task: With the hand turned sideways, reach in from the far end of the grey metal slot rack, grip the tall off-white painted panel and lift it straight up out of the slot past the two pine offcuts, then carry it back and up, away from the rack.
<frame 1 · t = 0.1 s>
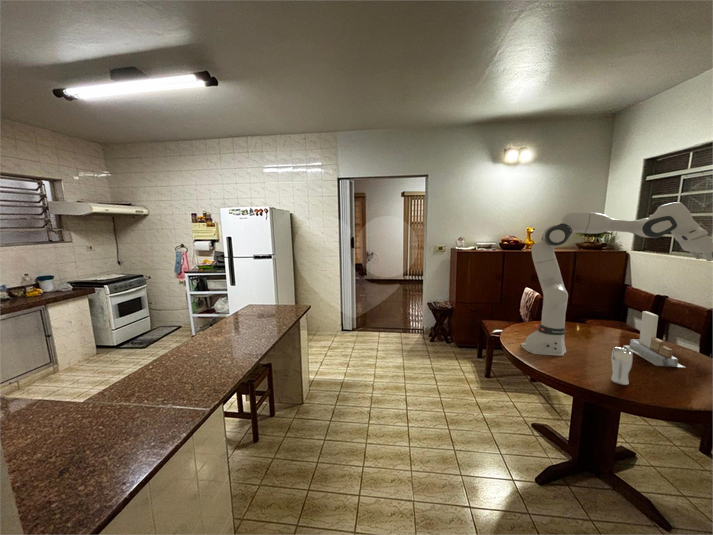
hand: (705, 259, 131), 54 cm above the table, tool tilted 30°, fingers open, 8 cm apart
slot rack: (651, 358, 152), on the table
short offcut: (664, 362, 143), point 1 cm above the table, touching slot rack
tall panel: (645, 352, 155), point 1 cm above the table, touching slot rack
beer glass: (619, 381, 130), on the table
tall offcut: (655, 357, 149), point 1 cm above the table, touching slot rack
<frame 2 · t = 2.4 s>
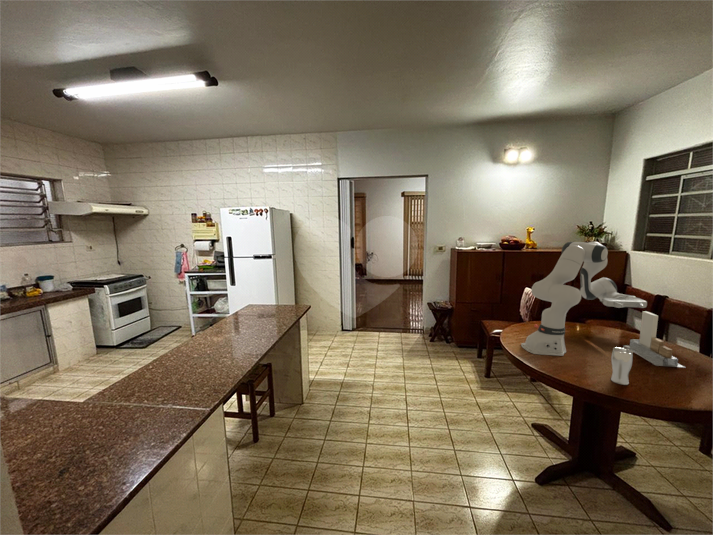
hand: (632, 306, 166), 24 cm above the table, tool horizontal, fingers open, 8 cm apart
nothing on the table moved.
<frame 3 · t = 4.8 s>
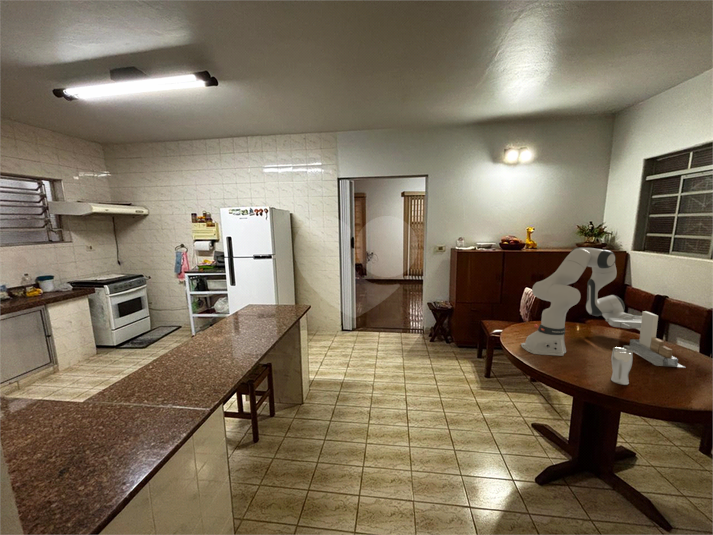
hand: (640, 327, 160), 13 cm above the table, tool horizontal, fingers open, 8 cm apart
nothing on the table moved.
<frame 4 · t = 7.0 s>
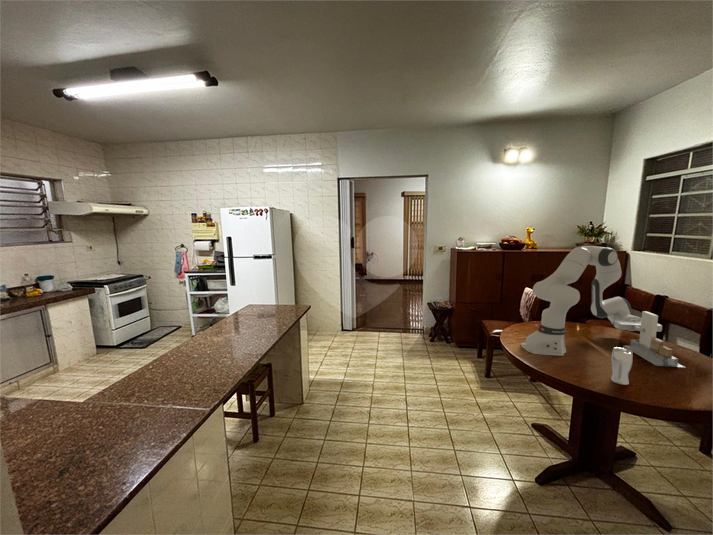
hand: (647, 330, 154), 14 cm above the table, tool horizontal, fingers closed on tall panel, 2 cm apart
tall panel: (645, 352, 155), point 2 cm above the table, touching gripper, slot rack
everything else where it was.
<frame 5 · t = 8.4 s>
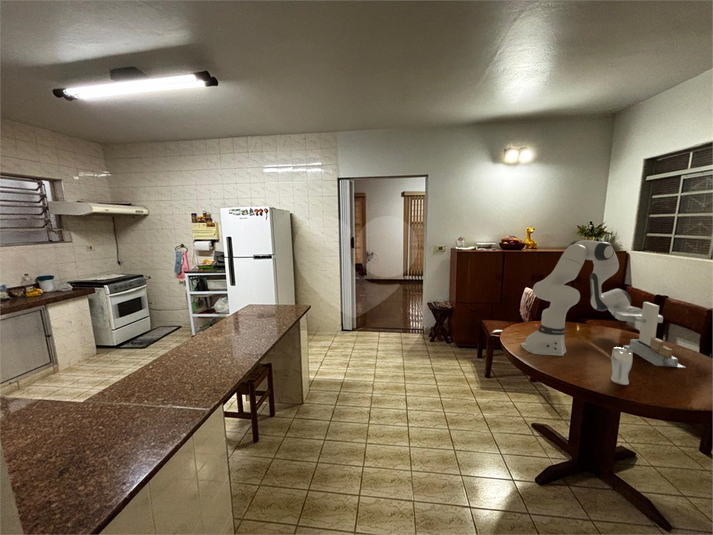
hand: (648, 321, 154), 19 cm above the table, tool horizontal, fingers closed on tall panel
tall panel: (646, 343, 155), point 7 cm above the table, touching gripper
everything else where it was.
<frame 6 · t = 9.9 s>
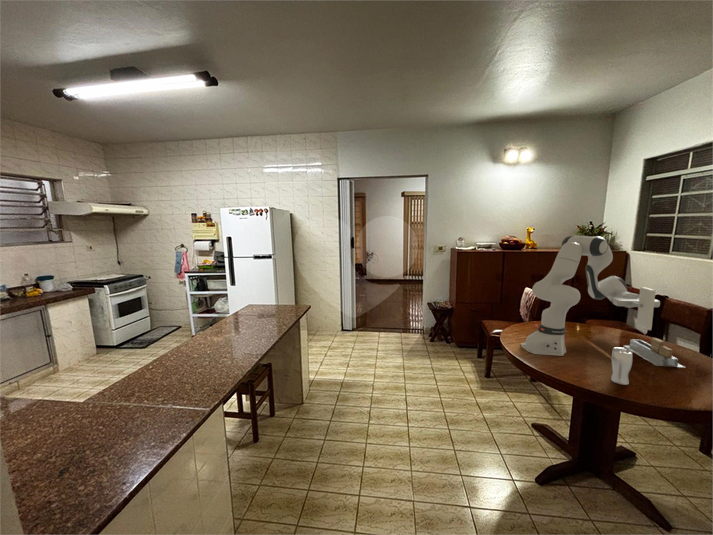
hand: (645, 306, 156), 26 cm above the table, tool horizontal, fingers closed on tall panel
tall panel: (643, 327, 157), point 14 cm above the table, touching gripper
everything else where it was.
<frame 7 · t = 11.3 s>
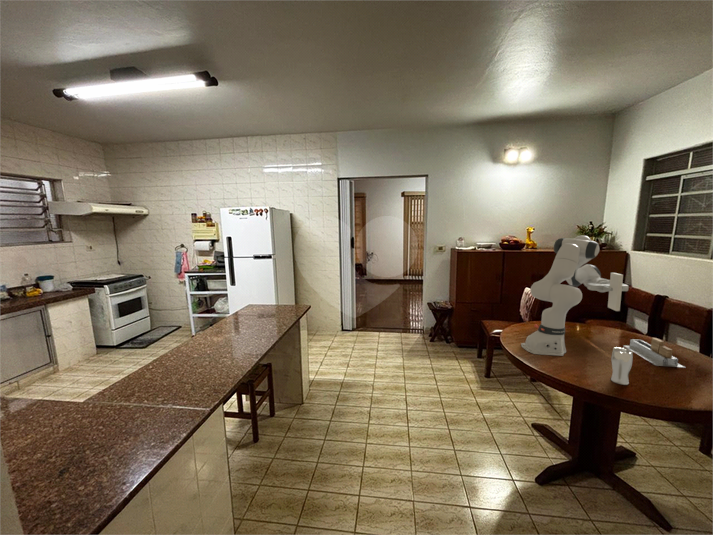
hand: (614, 289, 173), 32 cm above the table, tool horizontal, fingers closed on tall panel
tall panel: (613, 309, 174), point 20 cm above the table, touching gripper
everything else where it was.
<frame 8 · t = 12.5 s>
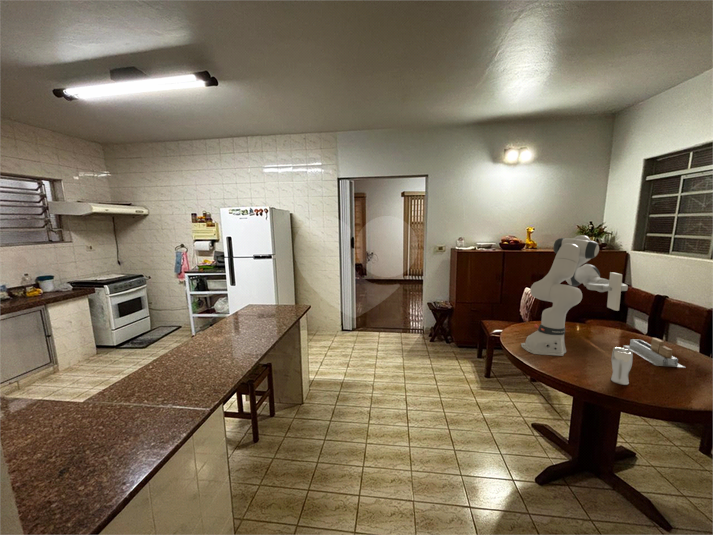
hand: (614, 289, 174), 32 cm above the table, tool horizontal, fingers closed on tall panel
tall panel: (612, 308, 175), point 20 cm above the table, touching gripper
everything else where it was.
at the end: tall panel point 19.9 cm above the table; the gripper is holding tall panel; tall offcut moved 0.1 cm from its start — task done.
